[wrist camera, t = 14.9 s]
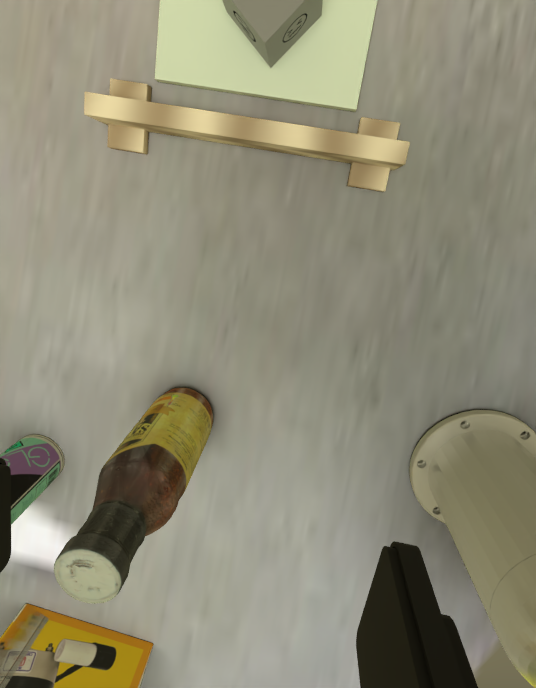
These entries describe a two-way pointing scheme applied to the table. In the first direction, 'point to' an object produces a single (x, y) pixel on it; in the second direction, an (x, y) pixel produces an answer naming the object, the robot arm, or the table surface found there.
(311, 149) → the wooden barrier
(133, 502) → the sauce bottle
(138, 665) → the packaging box
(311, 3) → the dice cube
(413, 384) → the table surface
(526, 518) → the robot arm
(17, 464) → the spray can
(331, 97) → the pad
